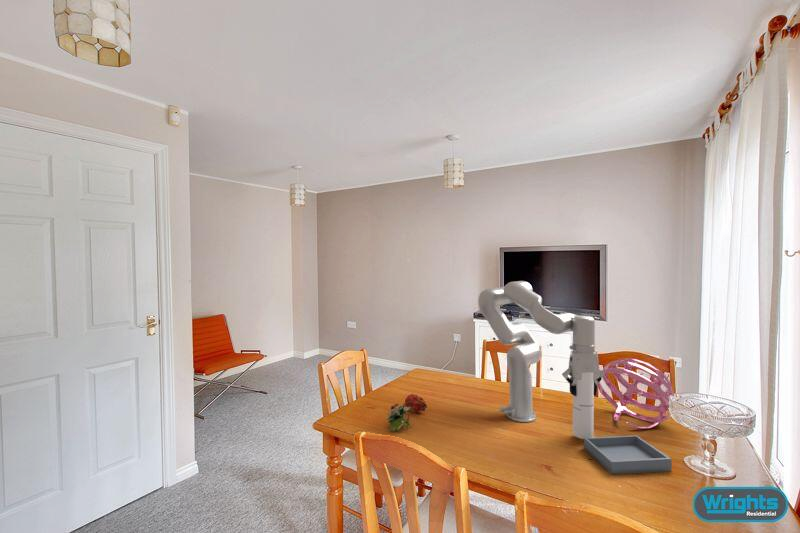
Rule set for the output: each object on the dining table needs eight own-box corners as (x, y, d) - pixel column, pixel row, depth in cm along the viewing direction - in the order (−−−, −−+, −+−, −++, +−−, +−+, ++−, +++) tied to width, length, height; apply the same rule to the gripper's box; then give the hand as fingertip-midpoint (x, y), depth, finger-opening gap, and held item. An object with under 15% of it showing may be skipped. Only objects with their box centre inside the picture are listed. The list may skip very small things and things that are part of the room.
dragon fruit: (405, 411, 173) (425, 421, 165) (397, 405, 167) (418, 415, 159) (412, 394, 176) (433, 403, 169) (405, 388, 170) (426, 397, 163)
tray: (612, 474, 116) (611, 462, 116) (584, 448, 132) (583, 437, 132) (671, 471, 117) (671, 458, 117) (636, 446, 133) (636, 435, 133)
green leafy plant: (395, 436, 155) (400, 407, 162) (415, 438, 149) (420, 408, 156) (379, 429, 149) (385, 400, 155) (400, 431, 142) (405, 400, 149)
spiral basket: (632, 393, 132) (659, 343, 144) (571, 388, 157) (598, 346, 169) (676, 450, 134) (699, 396, 146) (609, 437, 159) (633, 391, 171)
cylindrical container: (592, 441, 134) (593, 374, 133) (571, 436, 138) (571, 371, 137) (594, 433, 140) (594, 369, 139) (573, 428, 144) (574, 366, 143)
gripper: (566, 351, 134) (566, 398, 134) (611, 350, 134) (611, 397, 135) (556, 346, 141) (556, 391, 142) (599, 345, 142) (599, 390, 142)
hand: (583, 394), depth 138 cm, fingers closed on cylindrical container, 7 cm apart
